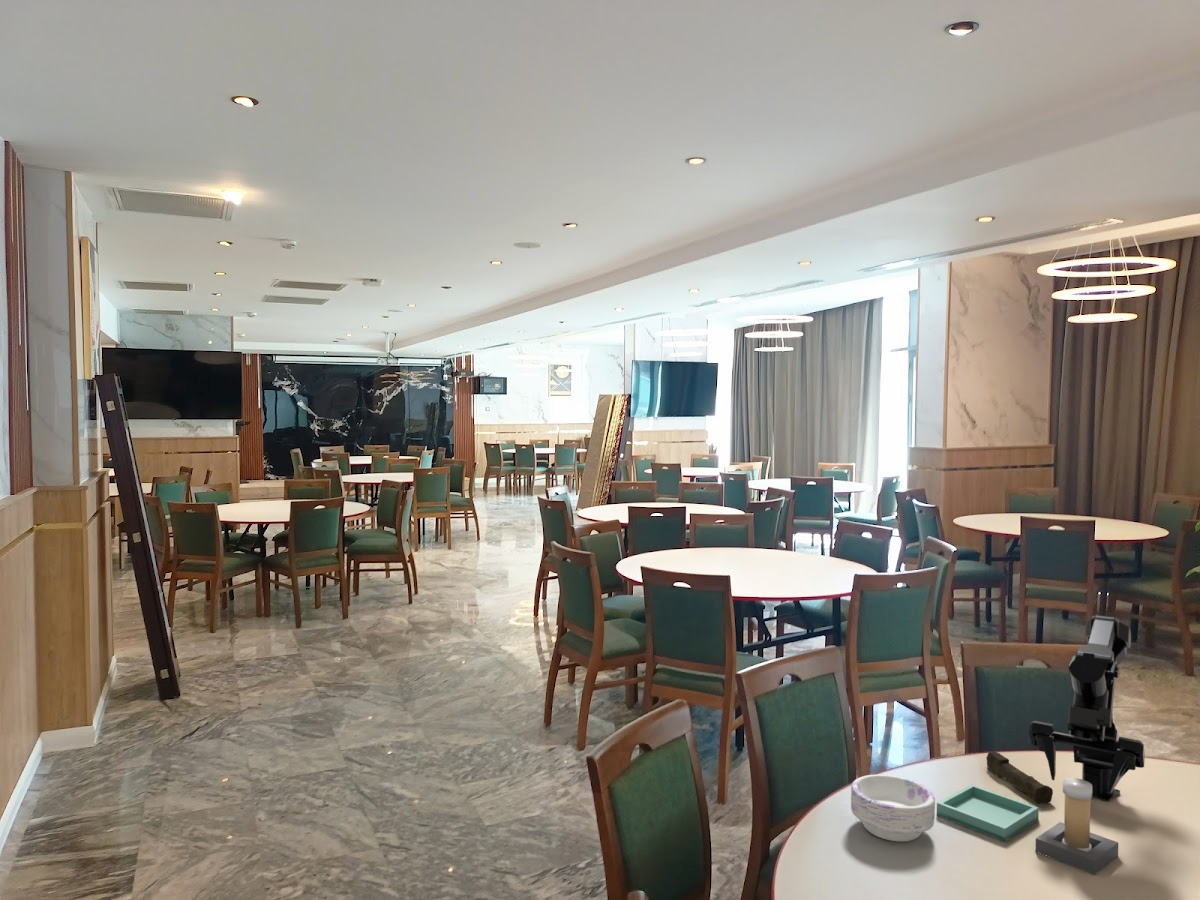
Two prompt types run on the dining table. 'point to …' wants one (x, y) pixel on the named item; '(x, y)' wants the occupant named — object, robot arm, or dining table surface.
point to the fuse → (1077, 813)
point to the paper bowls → (892, 806)
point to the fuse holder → (1077, 850)
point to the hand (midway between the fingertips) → (1080, 785)
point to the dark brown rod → (1018, 778)
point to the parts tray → (988, 812)
